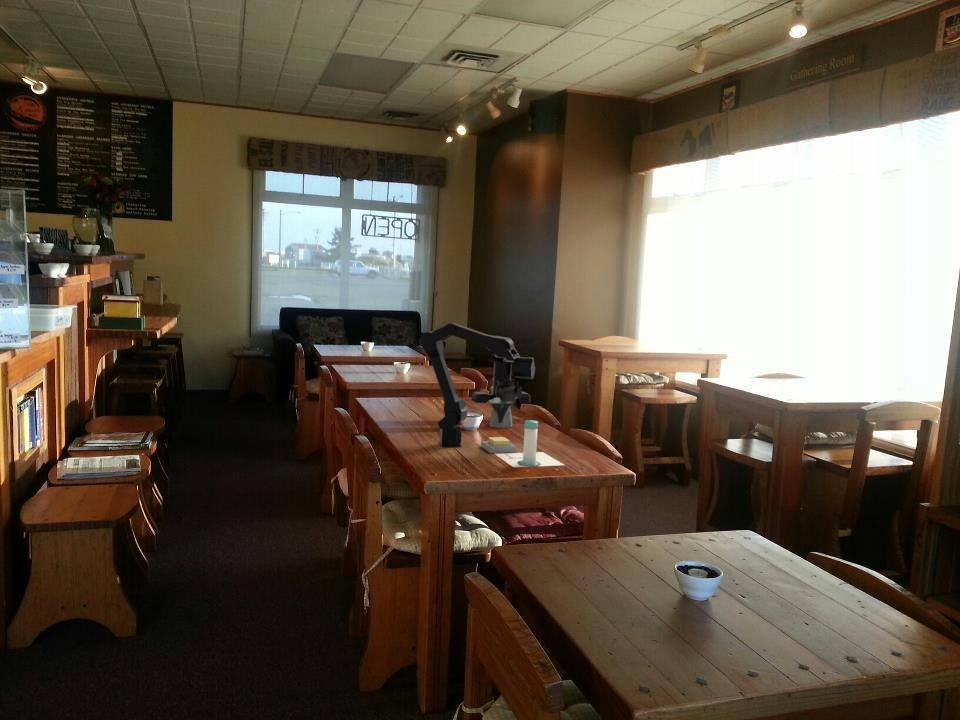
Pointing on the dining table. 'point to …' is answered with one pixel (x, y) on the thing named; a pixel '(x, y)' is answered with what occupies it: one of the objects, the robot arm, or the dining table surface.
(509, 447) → the button housing
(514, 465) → the drawing board
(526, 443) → the marker
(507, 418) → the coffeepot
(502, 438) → the button
